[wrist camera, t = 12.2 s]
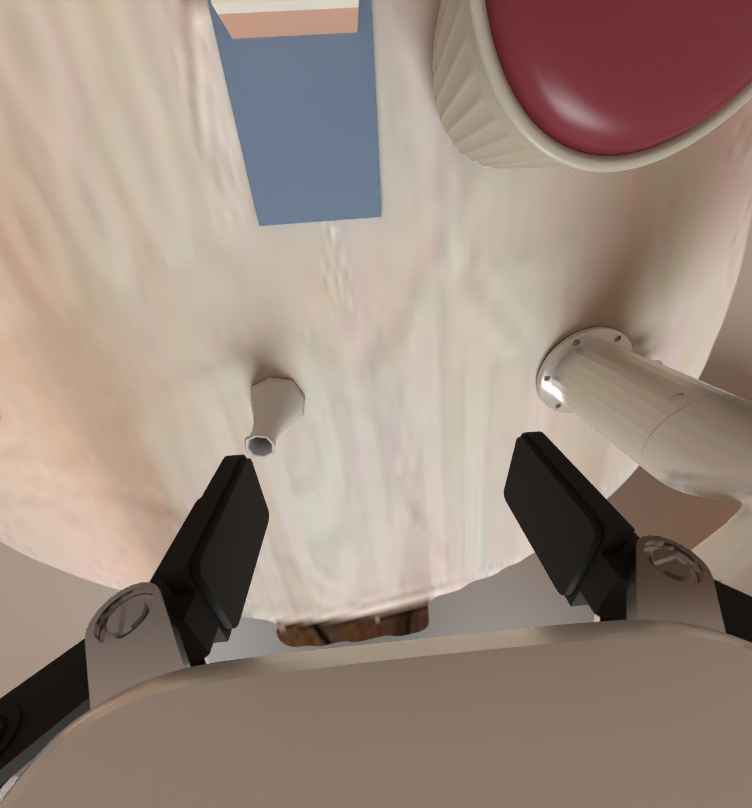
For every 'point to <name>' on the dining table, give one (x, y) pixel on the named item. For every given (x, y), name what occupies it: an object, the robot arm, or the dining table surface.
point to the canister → (588, 78)
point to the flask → (272, 413)
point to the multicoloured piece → (303, 105)
